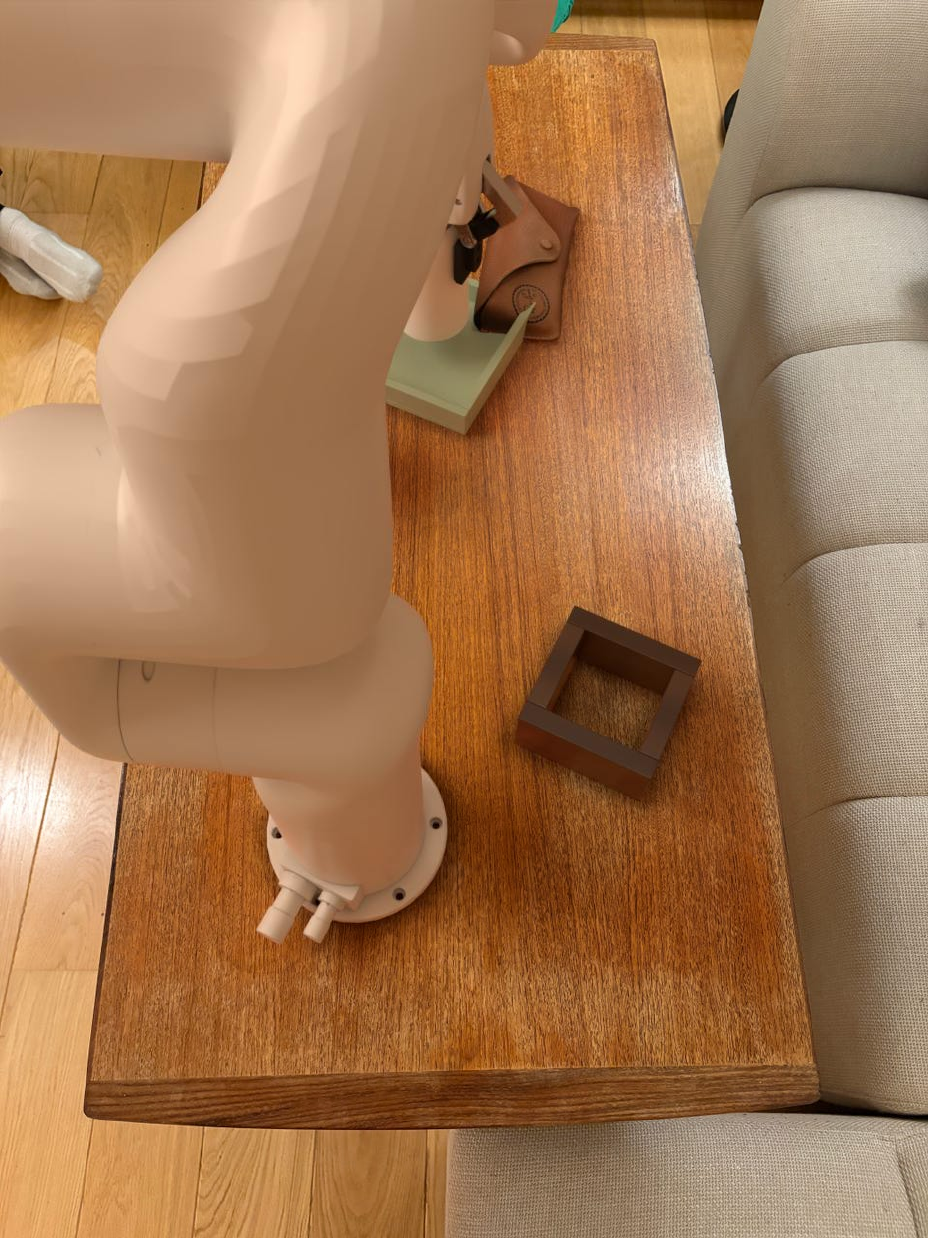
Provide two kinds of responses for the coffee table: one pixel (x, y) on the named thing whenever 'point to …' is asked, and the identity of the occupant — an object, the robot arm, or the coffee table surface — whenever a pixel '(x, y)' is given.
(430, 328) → the can
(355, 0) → the robot arm
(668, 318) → the coffee table surface
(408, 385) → the tray
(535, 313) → the sunglasses case
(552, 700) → the frame
